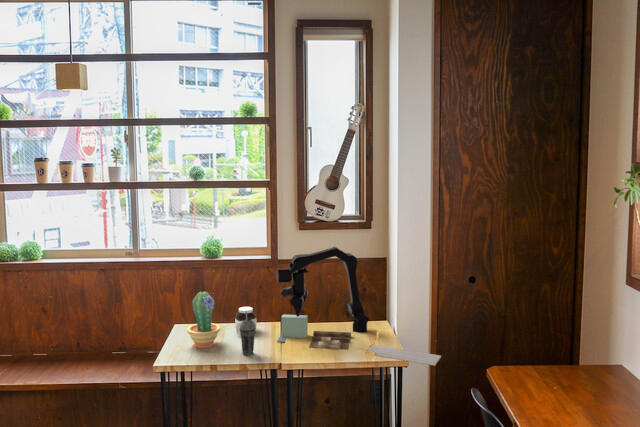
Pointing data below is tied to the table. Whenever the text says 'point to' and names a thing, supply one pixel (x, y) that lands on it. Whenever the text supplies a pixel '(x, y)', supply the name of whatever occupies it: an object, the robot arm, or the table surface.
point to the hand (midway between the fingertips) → (299, 313)
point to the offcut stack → (329, 343)
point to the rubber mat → (282, 339)
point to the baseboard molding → (405, 355)
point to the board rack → (341, 336)
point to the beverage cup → (247, 336)
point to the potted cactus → (203, 321)
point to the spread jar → (244, 317)
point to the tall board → (294, 326)
